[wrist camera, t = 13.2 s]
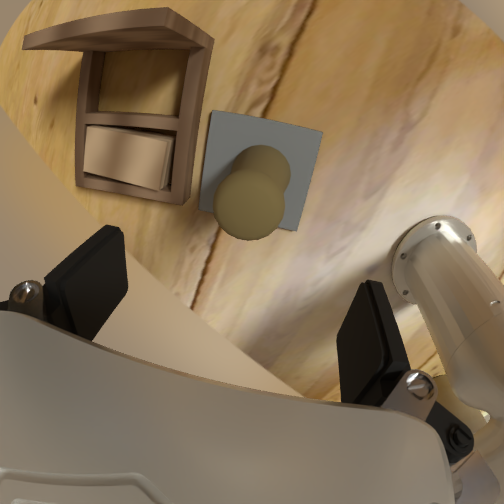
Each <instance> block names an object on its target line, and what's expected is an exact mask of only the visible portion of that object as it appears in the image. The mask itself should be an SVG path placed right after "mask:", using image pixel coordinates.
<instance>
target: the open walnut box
mask: <svg viewBox="0 0 504 504" xmlns="http://www.w3.org/2000/svg"><path fill="white" fill-rule="evenodd" d="M214 40H215V39H214V38H212V37H211V36H210V35H208V34H207V33H205V32H204V31H203V30H201V29H200V28H199V27H197V26H196V25H194V24H193V23H191V22H190V21H188V20H187V19H186V18H184V17H183V16H181V15H180V14H178V13H176V12H175V11H173V10H172V9H170V8H169V7H164V8H149V9H139V10H130V11H122V12H115V13H109V14H103V15H98V16H93V17H88V18H83V19H79V20H75V21H71V22H67V23H63V24H59V25H56V26H52V27H49V28H46V29H43V30H39V31H36V32H33V33H31V34H28V35H25V36H24V41H23V46H22V50H64V51H79V52H83V58H82V64H81V72H80V80H79V88H78V99H77V112H76V131H75V180H76V186H80V187H85V188H91V189H97V190H103V191H109V192H114V193H120V194H125V195H131V196H136V197H142V198H147V199H152V200H157V201H163V202H168V203H173V204H178V205H183V204H184V203H185V202H186V201H187V200H188V199H189V198H190V192H191V183H192V174H193V166H194V158H195V151H196V143H197V136H198V129H199V122H200V116H201V110H202V103H203V97H204V92H205V86H206V80H207V75H208V70H209V64H210V59H211V54H212V49H213V44H214ZM148 49H176V50H190V54H189V59H188V64H187V70H186V75H185V81H184V87H183V94H182V100H181V107H180V114H179V116H172V115H162V114H149V113H134V112H111V111H98V103H99V93H100V85H101V77H102V70H103V63H104V57H105V52H112V51H125V50H148ZM96 124H105V125H122V126H135V127H147V128H157V129H166V130H175V131H177V136H176V145H175V154H174V163H173V174H172V184H169V183H168V184H167V185H166V186H165V187H163V188H162V189H161V190H159V191H157V190H153V189H150V188H146V187H142V186H139V185H135V184H131V183H127V182H124V181H120V180H116V179H112V178H109V177H105V176H101V175H97V174H93V173H89V172H85V171H83V169H84V154H85V143H86V133H87V127H88V126H92V125H96Z"/></svg>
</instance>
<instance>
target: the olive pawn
mask: <svg viewBox="0 0 504 504" xmlns="http://www.w3.org/2000/svg"><path fill="white" fill-rule="evenodd" d="M290 177H291V171H290V165H289V163H288V161H287V159H286V157H285V156H284V155H283V154H282V153H281V152H280V151H279V150H277V149H275V148H273V147H271V146H266V145H254V146H250V147H248V148H246V149H244V150H243V151H242V152H241V153H240V154H239V155H238V156H237V157H236V159H235V161H234V163H233V165H232V169H231V173H230V174H229V175H228V176H227V177H226V178H225V179H224V180H223V181H222V182H221V183H220V184H219V185H218V187H217V189H216V191H215V193H214V197H213V212H214V216H215V219H216V221H217V222H218V224H219V226H220V227H221V228H222V229H223V230H224V231H225V232H226V233H227V234H229V235H231V236H233V237H235V238H237V239H242V240H247V241H249V240H259V239H261V238H264V237H266V236H268V235H269V234H271V233H272V232H273V231H274V230H275V229H276V228H277V227H278V225H279V224H280V222H281V221H282V219H283V216H284V211H285V199H284V192H285V190H286V189H287V187H288V185H289V182H290Z"/></svg>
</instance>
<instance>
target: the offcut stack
mask: <svg viewBox="0 0 504 504" xmlns="http://www.w3.org/2000/svg"><path fill="white" fill-rule="evenodd" d="M175 145H176V137H175V136H171V135H166V134H162V133H157V132H152V131H147V130H142V129H137V128H132V127H126V126H121V125H105V124H96V125H92V126H88V127H87V133H86V143H85V154H84V169H83V171H85V172H89V173H93V174H97V175H101V176H105V177H109V178H112V179H116V180H120V181H124V182H127V183H131V184H135V185H139V186H142V187H146V188H150V189H153V190H157V191H159V190H161V189H162V188H163V187H165V186H166V185H167V184H168V183H170V182H171V177H172V171H173V163H174V154H175Z"/></svg>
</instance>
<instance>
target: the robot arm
mask: <svg viewBox="0 0 504 504" xmlns="http://www.w3.org/2000/svg"><path fill="white" fill-rule="evenodd" d="M391 271H392V279H393V282H394V285H395V287H396V289H397V292H398V293H399V294H400V296H401V297H402V298H404V299H405V300H406V301H408V302H410V303H413V304H417V306H418V308H419V310H420V312H421V314H422V317H423V319H424V321H425V323H426V326H427V328H428V330H429V332H430V335H431V337H432V340H433V342H434V344H435V347H436V349H437V352H438V354H439V357H440V359H441V362H442V365H443V367H444V370H445V373H446V375H447V378H448V380H449V383H450V386H451V388H452V391H453V392H454V394H455V396H456V397H457V398H458V399H459V400H460V401H461V402H462V403H464V404H465V405H467V406H469V407H472V408H475V409H479V410H482V411H485V412H487V413H489V415H490V420H489V422H488V423H487V424H486V425H485V426H484V427H482V428H481V429H480V430H478V431H477V432H476V433H475V434H472V432H471V430H470V429H469V428H468V426H467V425H465V424H464V423H463V422H462V421H461V420H459V419H458V418H457V417H456V416H454V415H453V414H452V413H451V412H450V411H448V410H447V409H446V408H445V407H443V406H442V405H441V404H440V403H439V402H437V401H436V399H437V395H438V388H437V385H436V382H435V381H434V380H433V378H432V377H431V376H430V375H429V374H427V373H425V372H424V371H421V370H417V369H415V370H411V368H410V364H409V361H408V357H407V354H406V351H405V347H404V344H403V341H402V338H401V335H400V332H399V329H398V326H397V323H396V320H395V317H394V315H393V312H392V309H391V306H390V303H389V300H388V298H387V295H386V292H385V290H384V287H383V284H382V283H381V282H377V281H372V280H367V281H366V282H365V283H363V282H362V283H361V284H360V286H359V288H358V290H357V293H356V295H355V297H354V300H353V302H352V304H351V306H350V308H349V311H348V313H347V315H346V317H345V319H344V321H343V323H342V326H341V328H340V330H339V332H338V334H337V340H336V342H337V353H338V364H339V376H340V391H341V402H333V401H325V400H317V399H310V398H303V397H296V396H289V395H283V394H277V393H271V392H266V391H261V390H256V389H251V388H246V387H240V386H236V385H231V384H227V383H223V382H219V381H214V380H210V379H206V378H203V377H199V376H195V375H191V374H188V373H184V372H180V371H177V370H173V369H170V368H167V367H163V366H160V365H157V364H154V363H151V362H147V361H144V360H141V359H138V358H135V357H132V356H130V355H127V354H124V353H121V352H118V351H115V350H113V349H110V348H107V347H104V346H102V345H100V344H97V343H94V342H92V340H93V339H94V337H95V336H96V334H97V333H98V332H99V330H100V329H101V327H102V326H103V325H104V323H105V322H106V320H107V319H108V318H109V316H110V315H111V314H112V312H113V311H114V309H115V308H116V307H117V305H118V304H119V303H120V301H121V300H122V299H123V297H124V296H125V295H126V293H127V291H128V279H127V269H126V258H125V245H124V234H123V232H122V231H121V230H120V228H119V227H116V226H111V225H105V226H104V227H102V228H101V229H100V230H99V231H97V232H96V233H95V234H94V235H92V236H91V237H90V238H89V239H88V240H86V241H85V242H84V243H83V244H82V245H80V246H79V247H78V248H77V249H76V250H74V251H73V252H72V253H71V254H70V255H69V256H68V257H66V258H65V259H64V260H63V261H62V262H61V263H60V264H58V265H57V266H56V268H54V269H53V270H52V271H51V272H50V273H49V274H48V275H47V276H46V277H44V280H45V284H44V285H43V286H42V285H41V284H40V282H38V281H34V280H28V281H24V282H21V283H19V284H18V285H16V286H15V287H14V288H13V289H12V291H11V292H10V295H9V300H7V301H3V302H0V504H504V285H503V284H502V283H501V281H500V280H499V279H498V278H497V276H496V275H495V274H494V273H493V272H492V270H491V269H490V268H489V267H488V266H487V265H486V263H485V262H484V261H483V260H482V259H481V258H480V257H479V256H478V254H477V245H476V240H475V237H474V234H473V233H472V231H471V229H470V228H469V227H468V226H467V225H466V224H465V223H463V222H462V221H461V220H459V219H457V218H455V217H452V216H436V217H433V218H429V219H427V220H425V221H423V222H421V223H419V224H418V225H417V226H415V227H414V228H413V229H412V230H411V231H410V232H409V233H408V234H407V235H406V236H405V237H404V238H403V240H402V241H401V243H400V244H399V246H398V248H397V250H396V252H395V255H394V258H393V261H392V269H391Z"/></svg>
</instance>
